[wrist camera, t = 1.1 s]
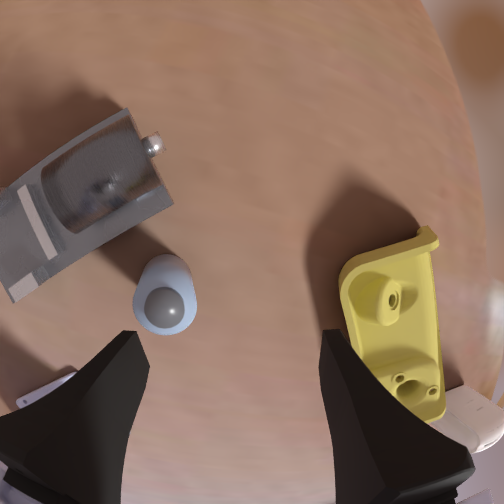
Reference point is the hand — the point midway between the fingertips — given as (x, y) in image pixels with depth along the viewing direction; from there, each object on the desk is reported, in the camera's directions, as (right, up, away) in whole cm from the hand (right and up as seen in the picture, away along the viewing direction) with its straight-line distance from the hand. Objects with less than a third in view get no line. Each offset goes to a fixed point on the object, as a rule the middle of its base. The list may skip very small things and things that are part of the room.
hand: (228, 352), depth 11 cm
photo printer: (+30, -18, +23) cm, 42 cm away
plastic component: (+14, -4, +17) cm, 22 cm away
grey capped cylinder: (-5, +2, +10) cm, 12 cm away
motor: (-12, +7, +7) cm, 16 cm away
